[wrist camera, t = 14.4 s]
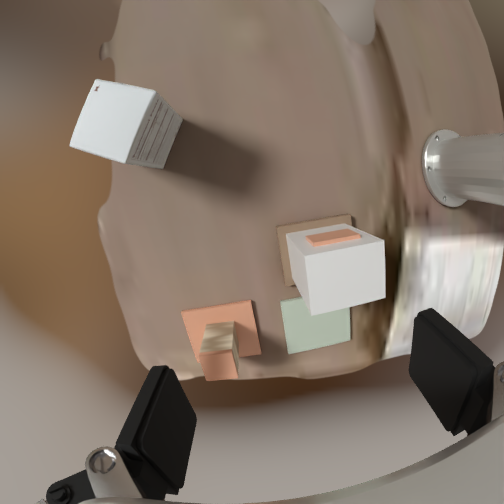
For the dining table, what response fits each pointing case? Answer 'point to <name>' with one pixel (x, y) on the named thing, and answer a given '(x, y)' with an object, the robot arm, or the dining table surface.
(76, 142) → the supplement box
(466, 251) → the dining table surface
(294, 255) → the mounted unit
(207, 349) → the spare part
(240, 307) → the terracotta pad
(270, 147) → the dining table surface
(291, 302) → the sage pad
